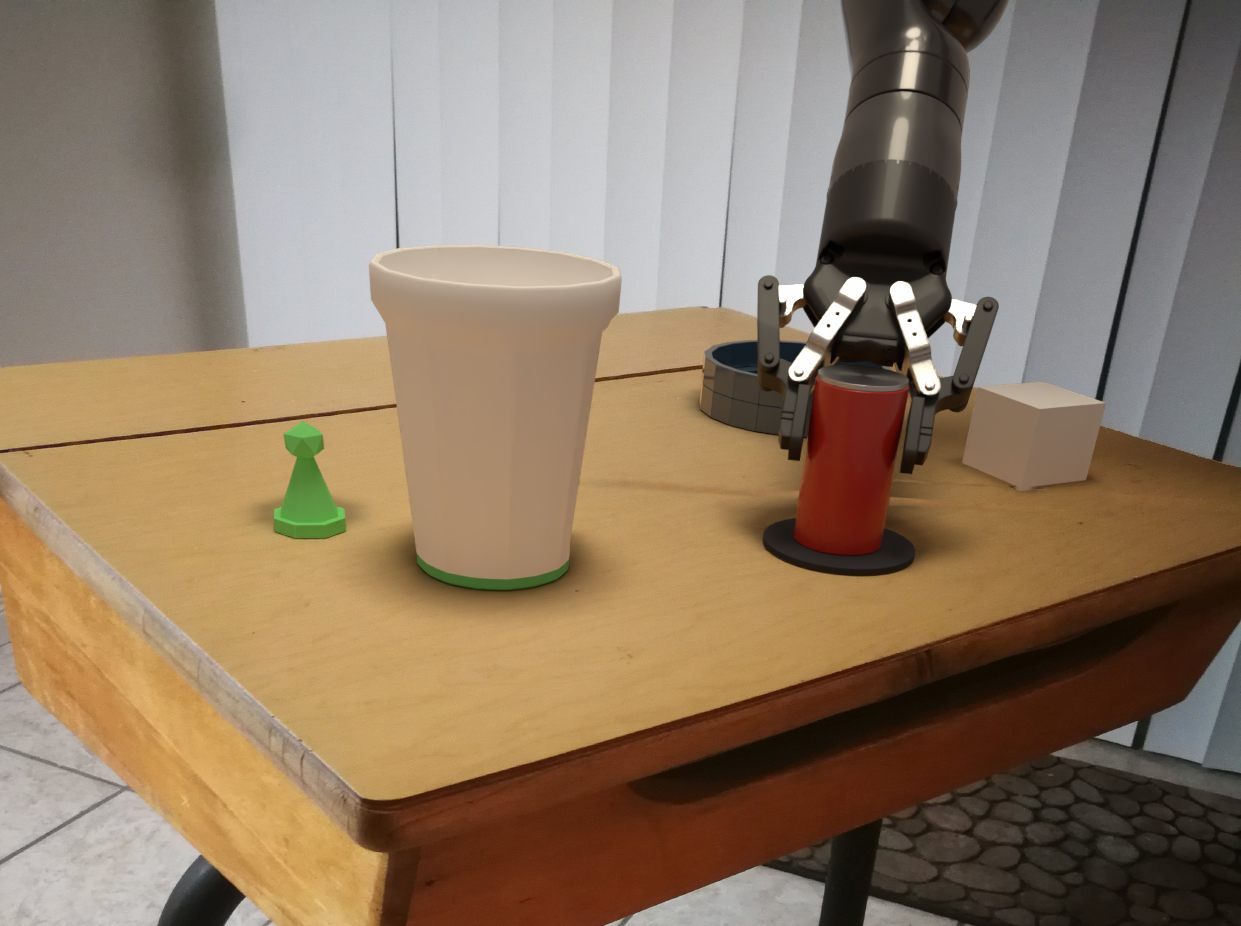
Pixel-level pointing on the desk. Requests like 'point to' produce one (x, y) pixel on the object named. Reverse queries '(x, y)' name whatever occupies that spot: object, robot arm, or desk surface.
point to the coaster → (885, 560)
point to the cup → (493, 400)
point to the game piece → (307, 491)
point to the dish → (746, 386)
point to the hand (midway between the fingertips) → (851, 459)
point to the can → (850, 458)
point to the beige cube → (1032, 434)
